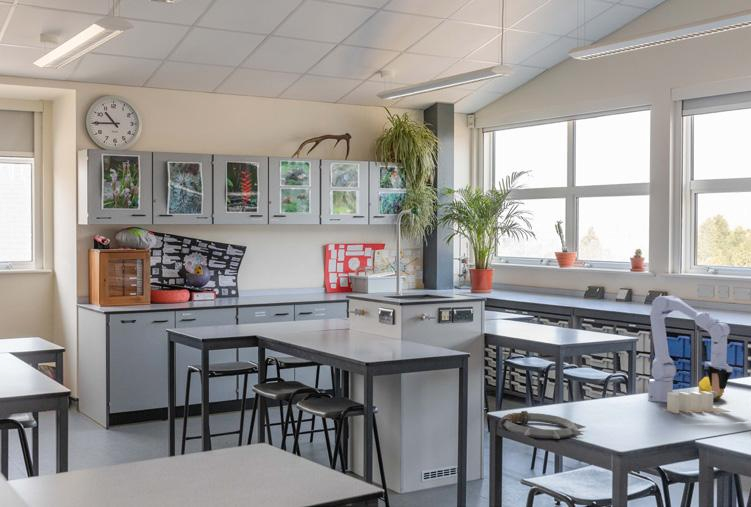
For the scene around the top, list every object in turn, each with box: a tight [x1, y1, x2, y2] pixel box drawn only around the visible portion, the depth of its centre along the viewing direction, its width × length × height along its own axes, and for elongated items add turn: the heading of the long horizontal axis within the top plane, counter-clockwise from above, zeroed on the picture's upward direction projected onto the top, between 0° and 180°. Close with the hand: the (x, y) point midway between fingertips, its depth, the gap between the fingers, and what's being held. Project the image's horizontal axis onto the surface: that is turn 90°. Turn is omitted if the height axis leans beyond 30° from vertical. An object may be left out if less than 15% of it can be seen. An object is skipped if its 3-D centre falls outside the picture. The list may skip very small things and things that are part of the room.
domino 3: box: [689, 391, 702, 412], centre depth 329 cm, size 2×5×7 cm, turn 14°
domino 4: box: [701, 391, 714, 412], centre depth 330 cm, size 2×5×7 cm, turn 14°
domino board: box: [660, 407, 731, 415], centre depth 329 cm, size 26×8×1 cm, turn 104°
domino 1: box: [666, 391, 680, 413], centre depth 327 cm, size 2×5×7 cm, turn 14°
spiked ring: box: [498, 410, 586, 440], centre depth 291 cm, size 33×4×30 cm
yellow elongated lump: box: [698, 376, 724, 402], centre depth 356 cm, size 10×30×10 cm, turn 164°
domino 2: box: [678, 391, 691, 412], centre depth 328 cm, size 2×5×7 cm, turn 14°
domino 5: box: [712, 373, 725, 394], centre depth 332 cm, size 2×5×7 cm, turn 14°
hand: (717, 387), depth 332 cm, fingers closed on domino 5, 5 cm apart
